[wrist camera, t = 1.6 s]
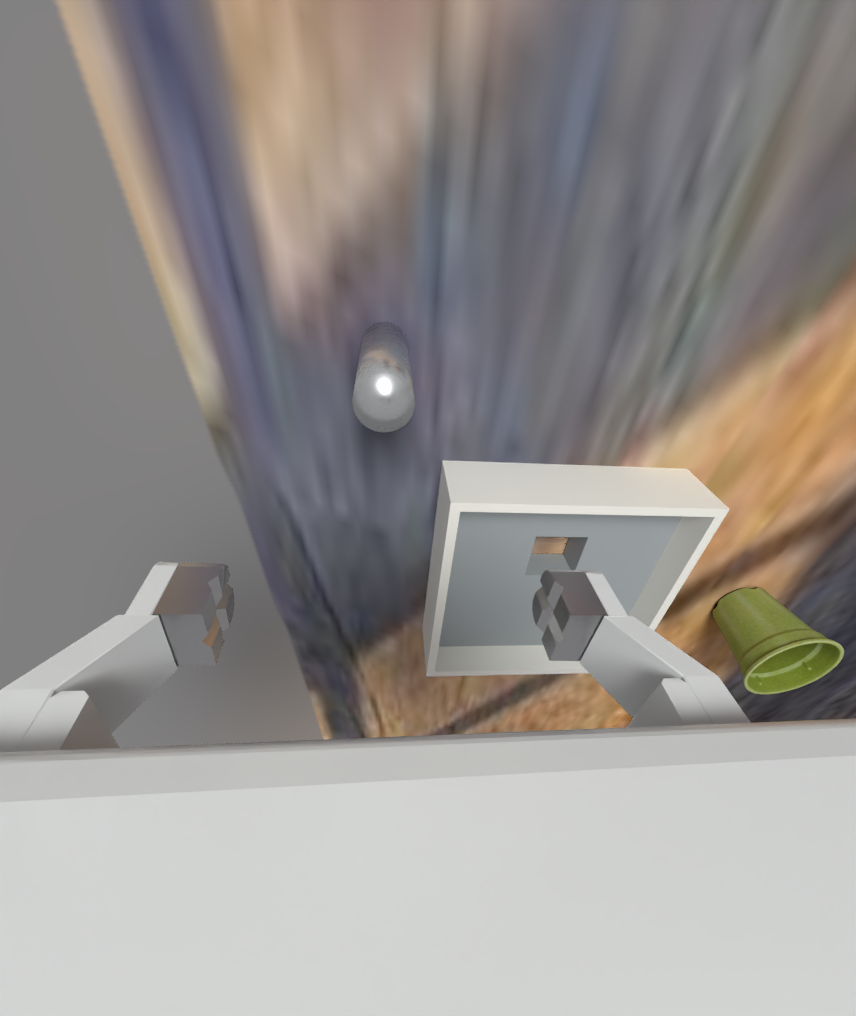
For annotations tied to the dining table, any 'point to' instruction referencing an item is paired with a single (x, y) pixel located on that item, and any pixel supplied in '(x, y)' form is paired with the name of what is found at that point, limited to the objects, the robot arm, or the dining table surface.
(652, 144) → the dining table surface
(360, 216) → the dining table surface
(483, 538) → the box
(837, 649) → the plant pot
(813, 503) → the dining table surface
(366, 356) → the peg
